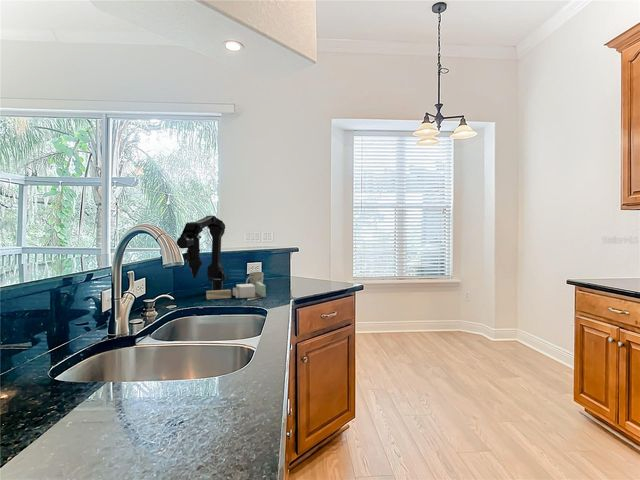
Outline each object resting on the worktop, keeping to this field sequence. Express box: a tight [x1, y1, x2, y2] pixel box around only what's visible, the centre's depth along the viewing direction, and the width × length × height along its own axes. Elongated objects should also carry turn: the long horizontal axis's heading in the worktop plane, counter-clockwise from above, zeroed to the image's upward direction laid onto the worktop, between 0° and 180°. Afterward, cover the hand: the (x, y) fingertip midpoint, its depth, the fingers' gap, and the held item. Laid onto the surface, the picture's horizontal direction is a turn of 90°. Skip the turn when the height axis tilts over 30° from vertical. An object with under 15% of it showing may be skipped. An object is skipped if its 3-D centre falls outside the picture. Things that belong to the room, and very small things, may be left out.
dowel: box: [205, 289, 232, 300], centre depth 192 cm, size 4×12×4 cm, turn 114°
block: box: [232, 283, 256, 299], centre depth 197 cm, size 10×10×6 cm
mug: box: [245, 271, 264, 292], centre depth 215 cm, size 8×13×10 cm, turn 148°
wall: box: [255, 282, 267, 298], centre depth 201 cm, size 14×2×6 cm, turn 23°
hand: (194, 278), depth 187 cm, fingers closed
